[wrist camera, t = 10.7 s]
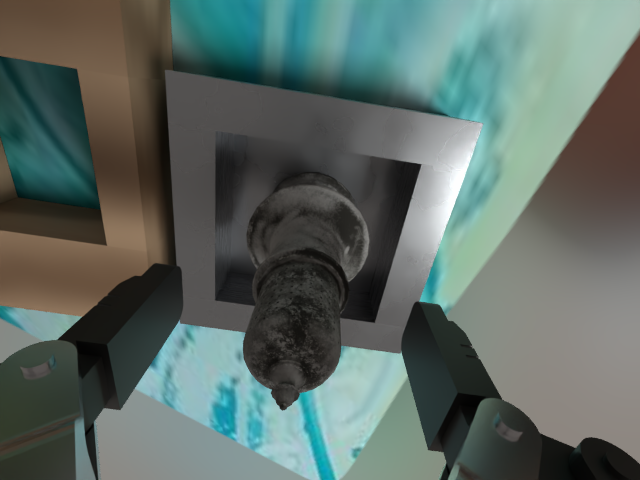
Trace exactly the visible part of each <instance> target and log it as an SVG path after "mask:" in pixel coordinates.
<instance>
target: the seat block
mask: <svg viewBox="0 0 640 480" xmlns="http://www.w3.org/2000/svg"><path fill="white" fill-rule="evenodd" d="M165 79H166V96H167V112H168V129H169V146H170V162H171V179H172V195H173V212H174V229H175V245H176V262H177V266H179V267H180V268H181V271H182V285H183V311H182V315H181V317H180V323H181V324H189V325H196V326H203V327H210V328H218V329H225V330H232V331H239V332H246V330H247V327H248V325H249V322H250V319H251V316H252V313H253V310H254V307H255V305H256V303H255V300H254V297H253V291H252V283H253V279H254V275H255V273H256V271H257V268H256V267H255V265H254V264H253V263H252V260H251V257H250V255H249V252H248V249H247V237H246V234H247V229H248V225H249V220H250V219H251V217H252V215H253V213H254V212H255V210H256V208H257V206H258V205H259V204H260V203H262V202H263V201H264V200H265V199H266V198H267V197H268V196H269V195H271V194H272V193H273V191H274V190H275V188H276V187H277V186H278V185H279V184H281V183H282V182H283V181H284V180H286V179H288V178H289V177H291V176H293V175H296V174H301V173H305V172H314V173H322V174H325V175H328V176H331V177H333V178H334V179H336V180H338V181H339V182H341V183H342V184H343V185H344V186H345V187H346V188H347V189H348V191H349V192H350V193H351V195H352V197H353V199H354V201H355V204H356V207H357V209H358V210H359V211H360V213H361V215H362V217H363V219H364V220H365V222H366V224H367V229H368V235H369V249H368V255H367V258H366V260H365V262H364V265H363V267H362V268H361V270H360V271H359V272H358V273H357V275H356V276H355V277H354V278H353V279H352V280H351V281H349V282H348V283H349V298H348V301H347V304H346V306H345V308H344V310H343V311H342V312H341V314H340V328H341V346H349V347H356V348H363V349H370V350H378V351H385V352H392V353H401V341H402V335H403V332H404V330H405V327H406V324H407V321H408V318H409V315H410V313H411V310H412V307H413V305H414V303H415V302H417V301H418V302H419V300H420V297H421V295H422V292H423V289H424V286H425V284H426V281H427V278H428V275H429V273H430V270H431V267H432V264H433V261H434V259H435V256H436V253H437V250H438V248H439V245H440V242H441V239H442V237H443V234H444V231H445V228H446V226H447V223H448V220H449V217H450V215H451V212H452V209H453V206H454V203H455V201H456V198H457V195H458V192H459V190H460V187H461V184H462V181H463V179H464V176H465V173H466V170H467V168H468V165H469V162H470V159H471V157H472V154H473V151H474V148H475V145H476V143H477V140H478V137H479V134H480V132H481V129H482V126H483V123H479V122H474V121H470V120H465V119H460V118H455V117H451V116H445V115H439V114H433V113H427V112H421V111H415V110H410V109H404V108H398V107H392V106H386V105H380V104H374V103H368V102H362V101H356V100H350V99H344V98H339V97H333V96H327V95H321V94H315V93H309V92H303V91H297V90H291V89H285V88H279V87H273V86H268V85H262V84H256V83H250V82H244V81H238V80H232V79H226V78H220V77H214V76H208V75H202V74H195V73H187V72H179V71H172V70H165Z"/></svg>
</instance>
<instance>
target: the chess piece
mask: <svg viewBox="0 0 640 480" xmlns="http://www.w3.org/2000/svg"><path fill="white" fill-rule="evenodd" d="M246 237H247V249H248V252H249V255H250V257H251V260H252V263H253V264H254V265H255V267H256V268H257V271H256V273H255V275H254V279H253V283H252V291H253V297H254V300H255V303H256V305H255V307H254V310H253V313H252V316H251V319H250V322H249V325H248V327H247V330H246V334H245V337H244V341H243V355H244V360H245V363H246V365H247V367H248V369H249V371H250V372H251V374H252V375H253V376H254V378H255V379H256V380H257V381H258V382H259V383H261V384H262V385H264V386H265V387H267V388H269V389H272V392H271V394H272V397H273V398H274V399H275V400H276V403H277V405H279V406H280V409H281V410H285V409H287V407H289V406H290V405H292V403H293V402H294V401H296V400H298V397H299V395H300V394H299V393H302V392H307V391H309V390H312V389H315V388H316V387H318V386H319V385H321V384H323V383H324V382H325V381H326V380H327V379H328V378H329V377H330V376H331V375H332V373H333V372H334V371H335V369H336V367H337V365H338V362H339V358H340V353H341V328H340V314H341V312H342V311H343V310H344V308H345V306H346V304H347V301H348V298H349V283H348V282H349V281H351V280H352V279H353V278H354V277H355V276H356V275H357V273H358V272H359V271H360V270H361V268H362V267H363V265H364V262H365V260H366V258H367V255H368V249H369V235H368V229H367V224H366V222H365V220H364V219H363V217H362V215H361V213H360V211H359V210H358V209H357V207H356V204H355V201H354V199H353V197H352V195H351V193H350V192H349V191H348V189H347V188H346V187H345V186H344V185H343V184H342V183H341V182H339V181H338V180H336V179H334V178H333V177H331V176H328V175H325V174H322V173H314V172H305V173H301V174H296V175H293V176H291V177H289V178H288V179H286V180H284V181H283V182H282V183H281V184H279V185H278V186H277V187H276V188H275V190H274V191H273V193H272V194H271V195H269V196H268V197H267V198H266V199H265V200H264V201H263V202H262V203H260V204H259V205H258V206H257V208H256V210H255V212H254V213H253V215H252V217H251V219H250V220H249V225H248V229H247V234H246Z"/></svg>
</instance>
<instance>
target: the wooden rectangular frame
mask: <svg viewBox="0 0 640 480" xmlns="http://www.w3.org/2000/svg"><path fill="white" fill-rule="evenodd" d="M0 56H3V57H9V58H15V59H21V60H27V61H33V62H39V63H45V64H51V65H57V66H63V67H69V68H75V69H77V71H78V77H79V83H80V89H81V95H82V101H83V107H84V113H85V119H86V124H87V130H88V136H89V142H90V148H91V154H92V160H93V166H94V172H95V177H96V183H97V189H98V195H99V201H100V207H101V210H98V209H92V208H85V207H78V206H72V205H65V204H58V203H52V202H45V201H38V200H32V199H25V198H18V196H17V193H16V189H15V186H14V183H13V179H12V176H11V172H10V169H9V165H8V162H7V158H6V155H5V152H4V148H3V145H2V141H1V138H0V305H2V306H9V307H16V308H24V309H31V310H38V311H46V312H53V313H60V314H68V315H75V316H82V317H83V316H84V315H85V314H86V313H87V312H88V311H89V310H90V309H92V308H93V307H94V306H95V305H96V306H97V304H98V302H99V301H100V300H101V299H103V298H104V297H105V296H107V294H108V293H109V292H110V291H111V290H112V289H114V288H115V287H116V286H117V285H118V284H119V283H121V282H123V281H125V280H127V279H129V278H131V277H133V276H135V275H136V276H142V275H143V274H144V273H145V272H146V271H147V270H148V269H149V268H150V267H151V266H152V265H153V264H155V263H160V264H167V265H174V266H177V262H176V245H175V229H174V212H173V195H172V179H171V162H170V146H169V129H168V112H167V96H166V79H165V70H172V71H173V56H172V35H171V15H170V0H0Z"/></svg>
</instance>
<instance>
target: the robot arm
mask: <svg viewBox="0 0 640 480" xmlns="http://www.w3.org/2000/svg"><path fill="white" fill-rule="evenodd" d="M182 311H183V285H182V271H181V268H180V267H179V266H174V265H167V264H160V263H155V264H153V265H152V266H151V267H150V268H149V269H148V270H147V271H146V272H145V273H144V274H143V275H142V276H136V275H135V276H133V277H131V278H129V279H127V280H125V281H123V282H121V283H119V284H118V285H117V286H116V287H115V288H114V289H112V290H111V291H110V292H109V293H108V294H107V296H105V297H104V298H103V299H101V300H100V301H99V302H98V304H97V306H96V305H95V306H94V307H93V308H92V309H90V310H89V311H88V312H87V313H86V314H85V315H84V316H83V317H82V318H81V319H79V320H78V321H77V322H76V323H75V324H74V325H73V326H72V327H71V328H70V329H68V330H67V331H66V332H65V333H64V334H63V335H62V336H61V337H60V338H59V339H58V340H50V341H44V342H39V343H36V344H33V345H30V346H28V347H26V348H23V349H21V350H19V351H17V352H16V353H14V354H12V355H11V356H10V357H8V358H7V359H6V360H5V361H4V362H3V363H0V480H101V474H100V462H99V450H98V438H97V426H96V421H95V420H96V418H97V417H98V415H99V414H100V413H101V411H102V410H103V408H109V409H116V410H121V408H122V407H123V405H124V404H125V402H126V400H127V399H128V398H129V396H130V394H131V393H132V392H133V390H134V389H135V387H136V385H137V384H138V382H139V381H140V379H141V378H142V376H143V375H144V373H145V372H146V370H147V369H148V367H149V366H150V364H151V363H152V361H153V360H154V358H155V357H156V355H157V354H158V352H159V351H160V349H161V348H162V346H163V344H164V343H165V341H166V340H167V338H168V337H169V335H170V334H171V332H172V331H173V329H174V328H175V326H176V325H177V323H178V322H179V320H180V317H181V315H182ZM401 351H402V356H403V359H404V363H405V366H406V370H407V374H408V377H409V381H410V385H411V388H412V392H413V396H414V399H415V403H416V407H417V410H418V414H419V417H420V421H421V425H422V429H423V432H424V435H425V440H426V443H427V447H428V450H431V451H439V452H444V456H445V459H446V464H445V465H444V467H443V469H442V471H441V474H440V476H439V479H438V480H640V464H639V463H638V462H637V461H636V460H635V459H633V458H632V457H631V456H630V455H628V454H627V453H626V452H624V451H623V450H621V449H620V448H618V447H616V446H615V445H613V444H611V443H609V442H607V441H604V440H602V439H598V438H592V437H591V438H585V439H583V440H582V442H581V443H580V444H579V445H578V446H577V448H574V447H572V446H569V445H567V444H564V443H562V442H559V441H557V440H554V439H552V438H550V437H547V436H545V435H543V434H540V433H539V431H538V429H537V427H536V426H535V424H534V423H533V422H532V421H531V419H530V418H529V417H528V416H527V415H526V414H525V413H524V412H522V411H521V410H520V409H518V408H517V407H515V406H514V405H512V404H510V403H509V402H506V401H504V400H502V398H501V396H500V394H499V393H498V391H497V389H496V387H495V386H494V384H493V382H492V380H491V378H490V377H489V375H488V373H487V371H486V369H485V368H484V366H483V364H482V362H481V360H480V359H478V355H477V353H476V351H475V350H474V349H473V348H472V344H471V343H470V341H469V339H468V337H467V335H466V334H465V332H464V331H463V330H461V329H460V328H459V327H458V326H457V325H456V324H455V323H454V322H453V321H448V320H447V318H446V316H445V314H444V312H443V310H442V308H441V306H440V305H438V304H432V303H425V302H418V301H417V302H415V303H414V305H413V307H412V310H411V313H410V315H409V318H408V321H407V324H406V327H405V330H404V332H403V335H402V341H401Z"/></svg>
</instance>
